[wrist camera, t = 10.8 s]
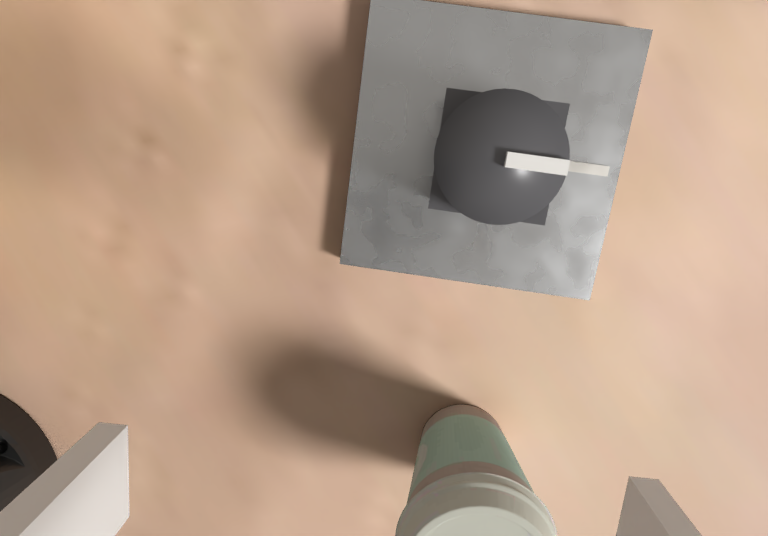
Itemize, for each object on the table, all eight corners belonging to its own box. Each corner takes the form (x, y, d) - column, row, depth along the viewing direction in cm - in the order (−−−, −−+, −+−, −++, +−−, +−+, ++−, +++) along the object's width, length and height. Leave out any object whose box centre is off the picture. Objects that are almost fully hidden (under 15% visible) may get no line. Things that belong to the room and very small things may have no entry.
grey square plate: (343, 258, 36) (326, 283, 29) (373, 0, 32) (361, -35, 26) (582, 293, 35) (617, 326, 29) (642, 35, 31) (697, 7, 25)
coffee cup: (400, 386, 38) (391, 494, 26) (524, 386, 37) (571, 497, 25) (403, 492, 39) (395, 639, 28) (520, 494, 39) (563, 645, 27)
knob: (428, 200, 33) (424, 216, 25) (444, 95, 32) (445, 78, 24) (529, 214, 33) (556, 235, 25) (550, 109, 31) (586, 96, 23)
